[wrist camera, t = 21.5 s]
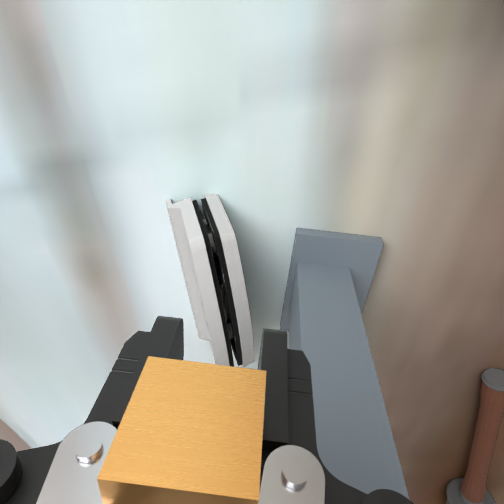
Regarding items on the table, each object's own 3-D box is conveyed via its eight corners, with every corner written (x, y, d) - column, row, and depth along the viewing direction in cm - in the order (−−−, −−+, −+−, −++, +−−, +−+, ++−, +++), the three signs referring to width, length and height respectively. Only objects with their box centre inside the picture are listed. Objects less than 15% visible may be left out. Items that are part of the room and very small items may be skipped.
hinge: (164, 196, 35) (173, 244, 26) (214, 186, 36) (238, 230, 27) (197, 330, 43) (212, 399, 35) (237, 319, 44) (260, 384, 36)
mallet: (546, 394, 39) (498, 546, 52) (505, 354, 44) (472, 501, 58) (489, 403, 39) (456, 554, 52) (455, 362, 44) (433, 508, 58)
